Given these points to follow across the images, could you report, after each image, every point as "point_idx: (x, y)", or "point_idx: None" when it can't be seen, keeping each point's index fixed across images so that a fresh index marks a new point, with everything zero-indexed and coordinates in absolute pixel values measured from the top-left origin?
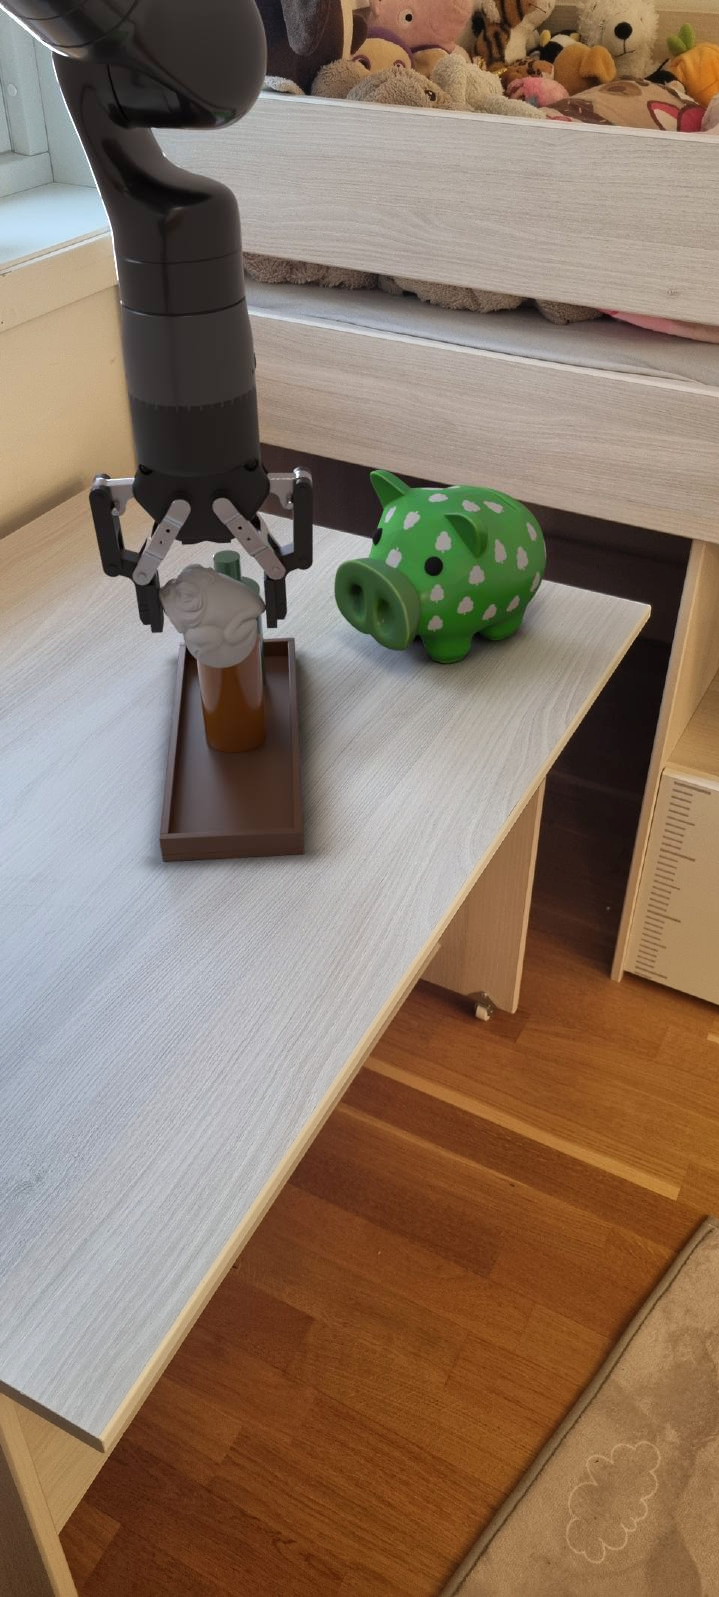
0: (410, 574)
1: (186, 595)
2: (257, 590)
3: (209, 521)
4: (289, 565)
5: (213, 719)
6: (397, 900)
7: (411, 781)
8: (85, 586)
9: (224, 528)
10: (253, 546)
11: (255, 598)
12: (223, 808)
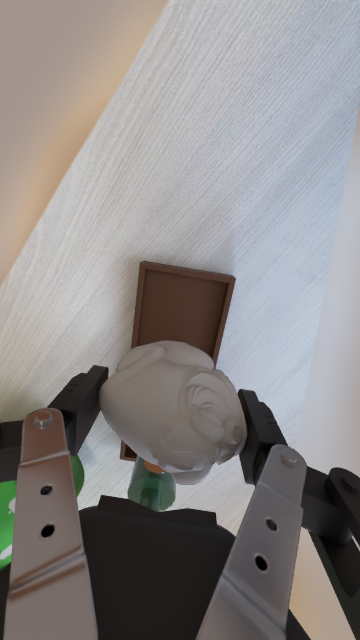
0: (9, 483)
1: (210, 411)
2: (129, 489)
3: (133, 576)
4: (16, 429)
5: None
6: (89, 199)
7: (67, 315)
8: (236, 535)
9: (99, 540)
10: (47, 467)
11: (107, 401)
12: (187, 313)
